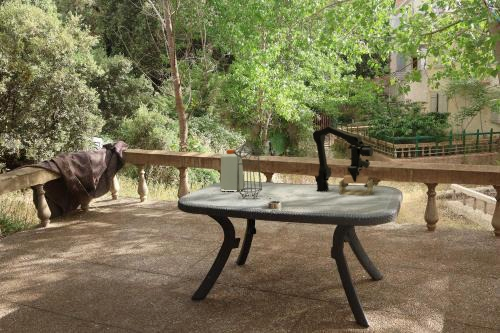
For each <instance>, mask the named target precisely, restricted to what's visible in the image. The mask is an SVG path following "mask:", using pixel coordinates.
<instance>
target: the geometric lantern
mask: <svg viewBox="0 0 500 333" xmlns="http://www.w3.org/2000/svg"><path fill="white" fill-rule="evenodd" d="M247 146H248V148H249V149H248V150H247ZM233 150H234V151H233V153H234V154H235V155H237V157H240V158H241V159H242V164H243V169H246V168H245V167H246V166H248V165H249V166H252V169H251V167H249V170H248V169H246V184H247V185H246V186H247V187H245V188H244V186H243V189H241V190H242V191H240V190H239V164H241V163H239V161H238V170H237V192H236V193H239V194H240V195H241V198H242V197H244V196H245V195H247V194H248V195H249V193H251V195H252V196H251V198H252V197H253V198H254V196H257V195H258V196H259V194H260V192H261V191H263V186H262V179H261V170H260V169H261V168H260V154H261V153H262V152H263V149H262V148H260V147H258V146H256V145H255V144H253V143H251V142H249V141H246V142H245V143H243V145H240V146H239V147H237V148H235V149H233ZM238 153H239V155H238ZM242 153H243V156H242ZM245 154H246V155H245ZM247 156H249V158H247ZM252 156H253V157H254V158H253V159H252V161H249V160H250V158H251V157H252ZM257 157H258V160H257ZM243 158H245V160H246V162H245V161H244V160H243ZM239 160H240V159H239ZM254 160H255V161H254ZM245 165H246V166H245ZM254 165H257V169H258V185H259V186H258V187H259V188H258V187H256V180H255V170H254ZM248 171H249V173H248ZM251 171H252V172H251ZM248 174H249V177H248ZM252 174H253V184H254V185H252V184H250V187H249V179H250V183H252ZM252 186H254V188H253V187H252ZM246 190H247V191H246ZM249 190H250V191H249Z"/></svg>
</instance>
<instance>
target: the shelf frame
mask: <svg viewBox="0 0 500 333" xmlns="http://www.w3.org/2000/svg"><path fill="white" fill-rule="evenodd" d="M373 179H374V178H373ZM373 179H372V178H371V179H370V180H369V179H368V182H367V184H364V186H363V187H364V188H367V189H346V187H348V186H349V183H344V178H342V179H341V180H339V182H338V183H339V184H338V191H339V194H338V195H341V196H342V195H343V196H344V195H345V196H346V195H347V196H370V195H371V196H372V194H373V193H374V180H373Z"/></svg>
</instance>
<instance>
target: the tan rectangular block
mask: <svg viewBox="0 0 500 333" xmlns="http://www.w3.org/2000/svg"><path fill="white" fill-rule="evenodd" d="M343 179H344V183H348V184H357V185H358V184H364V185H365V184H367V182H368V181H369V175H359V176H357V178H356V182H354V180H353V178H352V176H351V174H350V175H347V174H346V175H344V176H343Z"/></svg>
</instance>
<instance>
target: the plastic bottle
mask: <svg viewBox="0 0 500 333" xmlns="http://www.w3.org/2000/svg"><path fill="white" fill-rule="evenodd" d="M234 150H235V149H226V153H224V154H222V155H221V156H220V190H221V189H224V190H237V170H238V161H239V163H241V164H239V190H241V189H243V186H244V187H245V188H246V184H245V183H246V182H245V174H244V165H243V161H242V160H243V158H242V159H241V158H240V157H237V155H235V154H234V153H233V151H234ZM238 155H239V153H238ZM239 159H240V160H239ZM243 190H244V189H243Z"/></svg>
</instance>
